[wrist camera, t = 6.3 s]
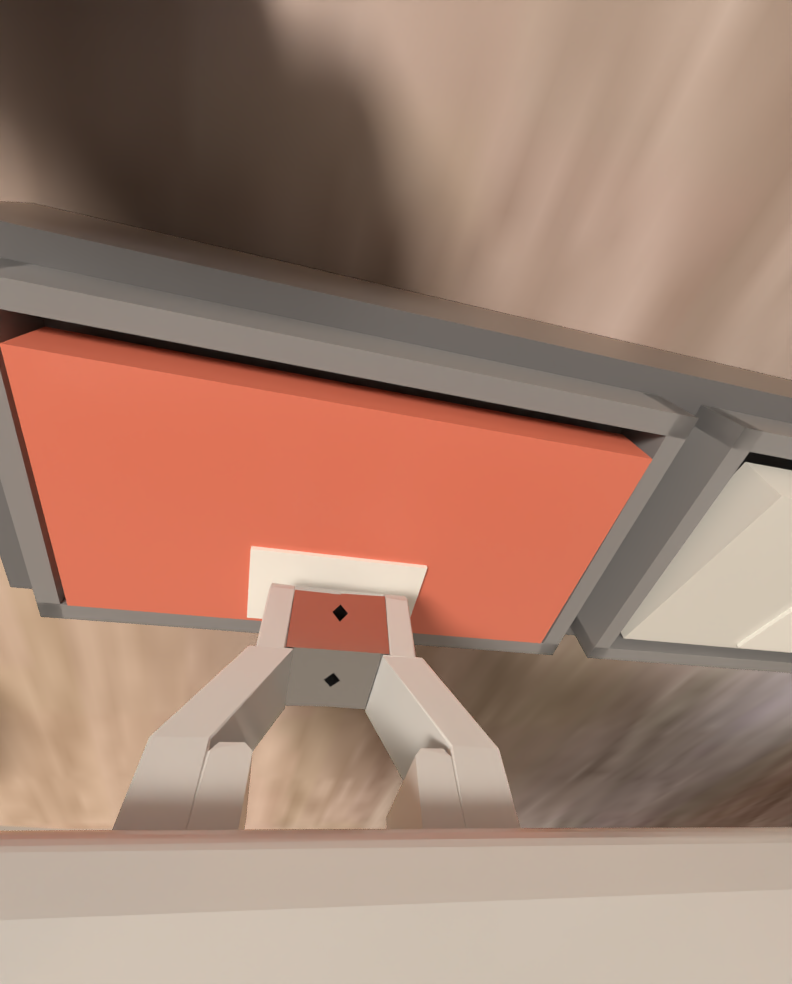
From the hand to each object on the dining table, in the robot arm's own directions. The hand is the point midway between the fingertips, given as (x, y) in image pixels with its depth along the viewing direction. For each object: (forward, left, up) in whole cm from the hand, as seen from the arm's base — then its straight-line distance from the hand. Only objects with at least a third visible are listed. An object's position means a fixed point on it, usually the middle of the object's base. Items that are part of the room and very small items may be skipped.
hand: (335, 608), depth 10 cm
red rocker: (-2, 0, -1) cm, 2 cm away
